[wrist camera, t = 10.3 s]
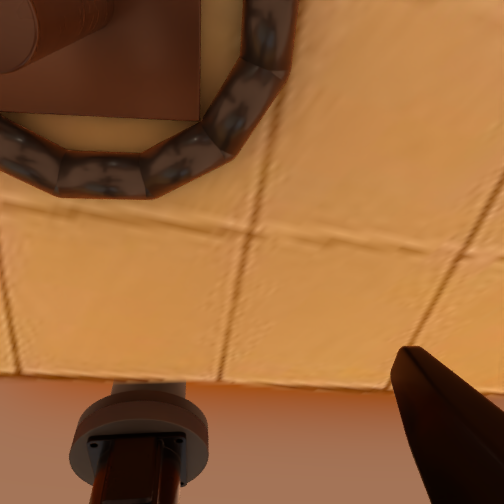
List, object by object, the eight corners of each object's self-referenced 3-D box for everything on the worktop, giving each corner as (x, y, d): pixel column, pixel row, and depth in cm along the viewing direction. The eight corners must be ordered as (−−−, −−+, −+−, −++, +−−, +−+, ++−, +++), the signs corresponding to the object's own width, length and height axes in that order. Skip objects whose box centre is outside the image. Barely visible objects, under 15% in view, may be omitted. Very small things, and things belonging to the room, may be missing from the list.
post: (200, 115, 18) (199, 214, 10) (1, 105, 17) (-163, 207, 9) (201, -137, 13) (203, -288, 6) (-69, -172, 12) (-493, -410, 5)
